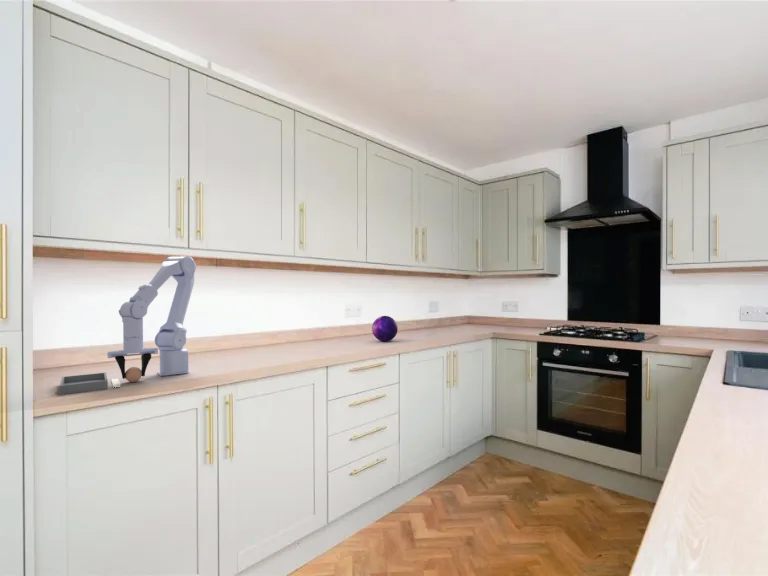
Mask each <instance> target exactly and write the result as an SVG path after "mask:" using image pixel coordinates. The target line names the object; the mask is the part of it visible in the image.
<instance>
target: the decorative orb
mask: <svg viewBox="0 0 768 576" xmlns="http://www.w3.org/2000/svg"><path fill="white" fill-rule="evenodd" d="M371 329H372V330H371V331H372V335H373V336H374V337H375V339H377V340H378V341H380V342H386V343H387V342H390V341H393V339H394V338H395V337H396V336H397V334H398V330H399V329H398V324H397V321H396V320H395V319H394V318H393V317H392V316H389V315H382V316H378V317H377V318H376V319H375V320H374V321H373V323H372V325H371Z"/></svg>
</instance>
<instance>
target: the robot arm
mask: <svg viewBox="0 0 768 576" xmlns="http://www.w3.org/2000/svg"><path fill="white" fill-rule="evenodd" d="M194 260H195V259H193V258H192V257H191V256H190V255H185V256H169V257H168V256H167V258H166V259H165V260H164V261H163V262H161V267H160V268H159V269H158V271H157V272H156V274H155V275H154V277H153V278H152V279H151V280H150V282H149V283H148V284H143V285H141V286H140V285H139V287H138V289H137V291H136V293H134V295H133V296H131V297H130V298H129V300H128V301H125V302H124V303H122V305H120V308H119V310H118V314H119V316H120V317H121V320H122V321H121V322H122V325H123V327H122V329H123V331H122V334H123V337H122V338H123V341H122V343H123V349H121V350H111V351H107V359H112V358H113V359H115V361H116V363H117V365H118V368H119V370H120V373H121V378H122V379H123V380H126V378H125V372H126V359H125V357H134V356H140V357H141V368H140V370H141V371H142V376H141V378H143V377H145V374H146V371H147V367H148V365H149V362H150V361H151V359H152V355H158V353H159V370H158V371H157V374H158V375H159V376H160V377H163V376H165V377H166V376H174V375H181V374H182V375H183V374H188V373H189V351H188V349H187V348H184V347H185V345H186V342H187V329H186V328H185V327H184V325H183V324H184V321H185V319H186V318H185V317H186V314H187V310H188V306H189V303H190V298H191V297H192V296H191V295H192V292H193V289H194V284H195V272H196V270H197V264H196V262H195V261H194ZM171 277H172V278H173V279H174V280H175V281H176V282H177V286H176V289H175V291H174V295H173V299H172V302H171V306H170V309H169V312H168V317H167V320H166V322H165V323H164V324H163V325H162V326H160V328H159V330H158V332H157V333H156V335H155V337H154V344H155V345H156V347H148V348H147V347H145V348H144V327H143V326H144V317H145V316H146V315H147V313H148V308H149V306H150V305H151V304H152V302H154V300H155V299H156V298H157V296H158V295H159V293H158V291H159V289H160V288H161V287H162V286H163V285H164V284H165V283H166V282H167V281H169V279H170V278H171ZM189 374H190V373H189Z"/></svg>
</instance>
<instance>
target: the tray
mask: <svg viewBox="0 0 768 576" xmlns="http://www.w3.org/2000/svg"><path fill="white" fill-rule="evenodd" d="M108 385H109V382H108V375H107V372H97V373H87V374H86V373H85V374H77V375H67V376H61V381H60V383H59V385H58V386H59V395H67V394H77V393H82V392H83V393H85V392H92V391H102V390H108V389H109V388H108V387H109V386H108Z"/></svg>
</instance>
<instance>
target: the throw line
mask: <svg viewBox="0 0 768 576" xmlns="http://www.w3.org/2000/svg"><path fill="white" fill-rule="evenodd" d="M110 381H111V384H112V388H113V389H117V388H116V387H120V388H122V387H121V383H120V380H119V378H112V379H110ZM114 387H115V388H114Z"/></svg>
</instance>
